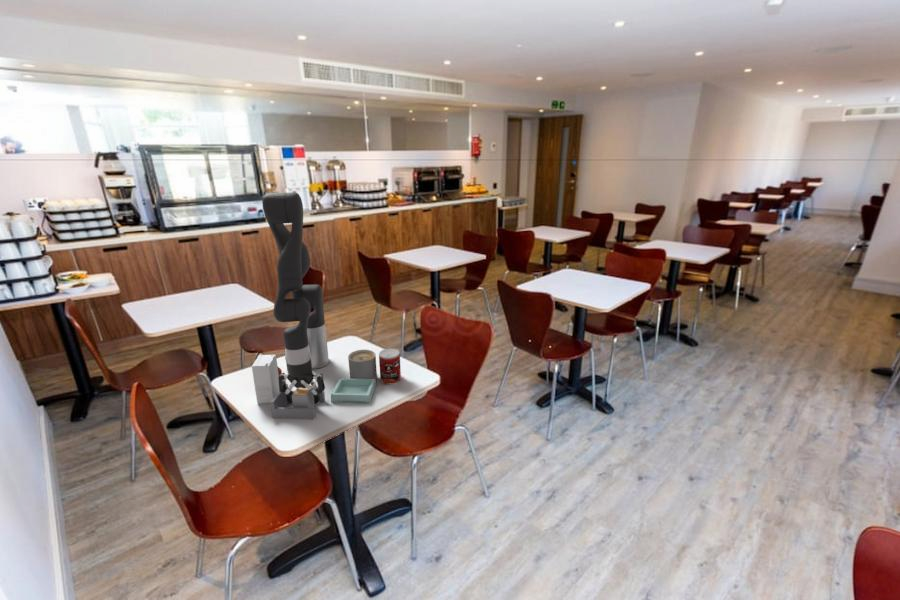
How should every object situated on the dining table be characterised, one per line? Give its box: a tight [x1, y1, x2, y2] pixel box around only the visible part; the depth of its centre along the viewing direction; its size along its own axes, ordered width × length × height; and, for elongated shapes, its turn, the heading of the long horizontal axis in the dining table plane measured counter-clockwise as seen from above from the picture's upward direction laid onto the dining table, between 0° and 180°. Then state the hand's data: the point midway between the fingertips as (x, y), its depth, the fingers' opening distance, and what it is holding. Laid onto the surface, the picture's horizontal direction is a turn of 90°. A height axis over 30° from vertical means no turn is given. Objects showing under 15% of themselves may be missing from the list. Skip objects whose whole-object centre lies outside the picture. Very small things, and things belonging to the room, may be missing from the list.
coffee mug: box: [347, 349, 378, 381], centre depth 158 cm, size 13×10×10 cm
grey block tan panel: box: [292, 388, 316, 409], centre depth 138 cm, size 6×5×8 cm
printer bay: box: [269, 383, 326, 420], centre depth 139 cm, size 11×14×6 cm
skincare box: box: [251, 354, 279, 405], centre depth 144 cm, size 8×6×15 cm
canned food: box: [378, 348, 402, 385], centre depth 157 cm, size 8×8×11 cm
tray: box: [330, 377, 377, 404], centre depth 148 cm, size 11×13×3 cm
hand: (304, 402), depth 138 cm, fingers open, 8 cm apart
